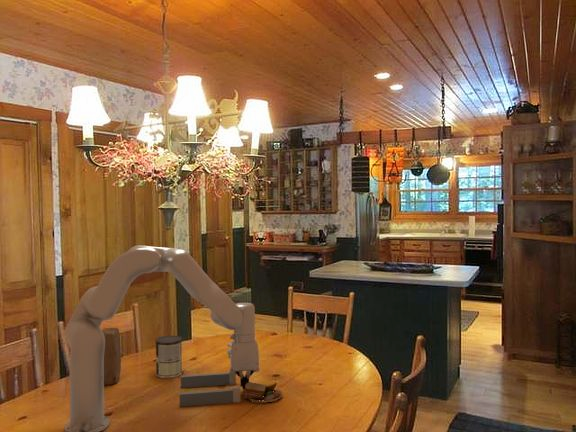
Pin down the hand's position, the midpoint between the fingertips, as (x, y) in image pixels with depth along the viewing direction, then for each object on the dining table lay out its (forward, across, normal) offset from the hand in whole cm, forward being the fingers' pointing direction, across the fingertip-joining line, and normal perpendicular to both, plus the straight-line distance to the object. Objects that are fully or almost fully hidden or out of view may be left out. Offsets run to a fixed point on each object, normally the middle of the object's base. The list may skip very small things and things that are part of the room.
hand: (244, 388), depth 179 cm
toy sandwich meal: (+2, +5, -7) cm, 9 cm away
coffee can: (+1, -28, +25) cm, 37 cm away
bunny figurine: (+2, +1, +46) cm, 46 cm away
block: (+1, -50, +21) cm, 54 cm away
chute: (+1, -13, 0) cm, 13 cm away
